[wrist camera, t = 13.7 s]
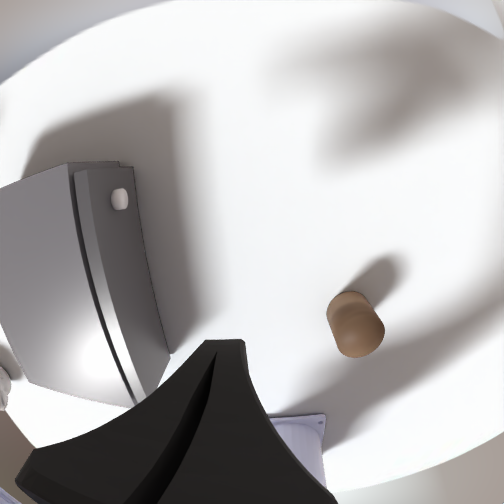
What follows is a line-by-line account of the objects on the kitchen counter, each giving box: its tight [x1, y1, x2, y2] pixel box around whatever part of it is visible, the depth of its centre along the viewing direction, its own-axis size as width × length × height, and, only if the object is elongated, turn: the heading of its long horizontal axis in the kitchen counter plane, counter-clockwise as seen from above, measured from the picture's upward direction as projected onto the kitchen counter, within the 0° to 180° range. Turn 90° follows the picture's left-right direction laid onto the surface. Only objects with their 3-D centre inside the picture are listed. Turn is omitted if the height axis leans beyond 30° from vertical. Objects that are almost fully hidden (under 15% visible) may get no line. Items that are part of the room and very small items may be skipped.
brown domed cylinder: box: [327, 291, 385, 358], centre depth 18 cm, size 3×3×4 cm
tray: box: [74, 167, 170, 403], centre depth 17 cm, size 15×12×5 cm
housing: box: [0, 161, 138, 408], centre depth 17 cm, size 16×12×6 cm
